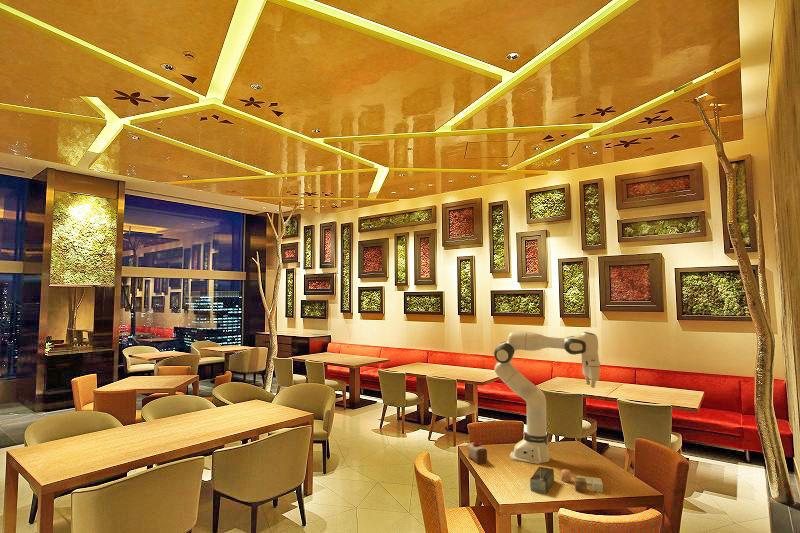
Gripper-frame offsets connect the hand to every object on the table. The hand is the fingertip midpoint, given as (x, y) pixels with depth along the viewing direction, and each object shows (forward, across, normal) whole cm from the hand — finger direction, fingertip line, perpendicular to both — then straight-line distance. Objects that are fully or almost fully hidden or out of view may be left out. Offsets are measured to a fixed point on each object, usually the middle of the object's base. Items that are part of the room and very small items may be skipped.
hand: (590, 386), depth 254 cm
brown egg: (+44, +23, -19) cm, 53 cm away
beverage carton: (+45, +31, -32) cm, 63 cm away
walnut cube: (+44, +34, -14) cm, 57 cm away
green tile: (+44, +21, -8) cm, 50 cm away
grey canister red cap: (+45, -1, -63) cm, 77 cm away
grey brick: (+45, +31, -6) cm, 54 cm away
